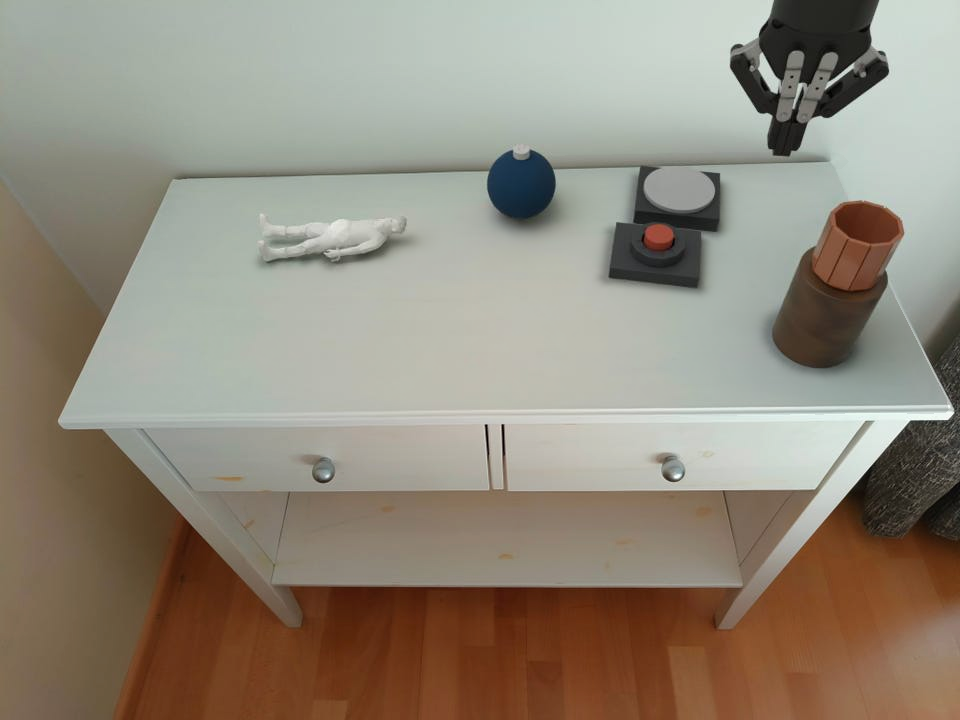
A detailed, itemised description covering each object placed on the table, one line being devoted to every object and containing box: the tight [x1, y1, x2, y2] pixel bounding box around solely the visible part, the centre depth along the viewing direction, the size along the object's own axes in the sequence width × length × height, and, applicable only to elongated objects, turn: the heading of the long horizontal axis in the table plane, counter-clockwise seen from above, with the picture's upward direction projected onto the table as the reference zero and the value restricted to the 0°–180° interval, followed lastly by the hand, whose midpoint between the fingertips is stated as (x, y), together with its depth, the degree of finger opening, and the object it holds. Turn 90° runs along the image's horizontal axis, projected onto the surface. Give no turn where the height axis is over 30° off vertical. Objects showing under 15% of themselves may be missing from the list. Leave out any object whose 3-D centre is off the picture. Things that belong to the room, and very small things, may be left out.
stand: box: [771, 245, 889, 369], centre depth 74 cm, size 8×8×10 cm
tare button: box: [644, 224, 674, 251], centre depth 84 cm, size 3×3×1 cm
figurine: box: [257, 213, 409, 263], centre depth 89 cm, size 7×4×18 cm
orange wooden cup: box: [811, 199, 905, 291], centre depth 68 cm, size 6×6×6 cm
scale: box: [632, 165, 721, 232], centre depth 92 cm, size 10×9×3 cm
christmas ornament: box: [486, 143, 557, 220], centre depth 89 cm, size 8×8×10 cm
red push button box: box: [608, 221, 702, 289], centre depth 85 cm, size 10×8×3 cm
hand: (780, 151), depth 68 cm, fingers closed
